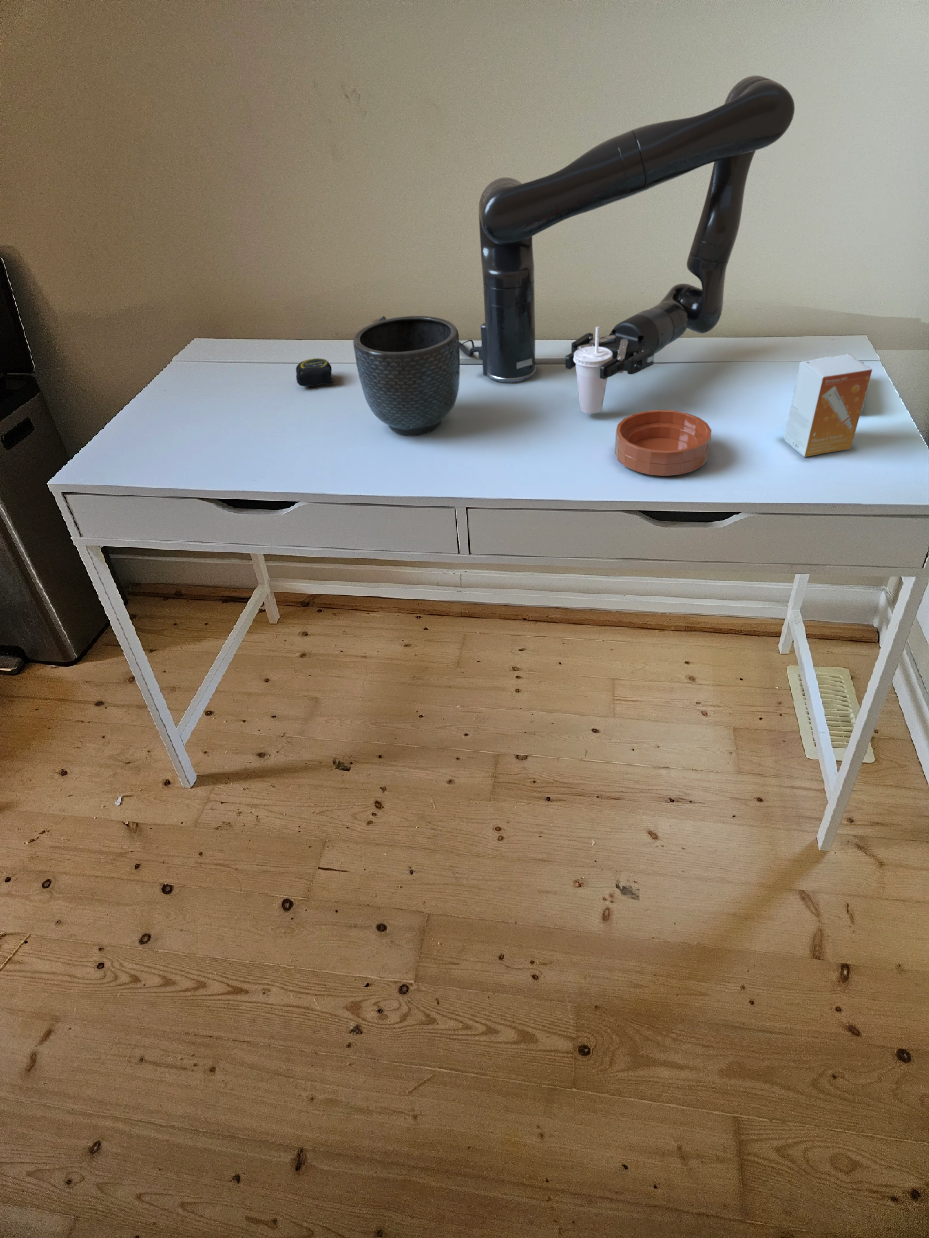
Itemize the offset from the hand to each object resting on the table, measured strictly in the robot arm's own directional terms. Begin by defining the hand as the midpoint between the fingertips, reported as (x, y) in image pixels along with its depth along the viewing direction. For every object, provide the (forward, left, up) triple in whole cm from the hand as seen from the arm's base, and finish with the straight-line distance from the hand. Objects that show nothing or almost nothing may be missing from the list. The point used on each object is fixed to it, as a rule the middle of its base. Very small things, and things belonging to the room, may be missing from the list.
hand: (584, 368), depth 133 cm
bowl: (+17, -6, -9) cm, 20 cm away
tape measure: (-53, -8, -10) cm, 55 cm away
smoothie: (0, +2, -8) cm, 9 cm away
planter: (-25, -14, -10) cm, 31 cm away
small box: (+37, +8, -10) cm, 39 cm away
